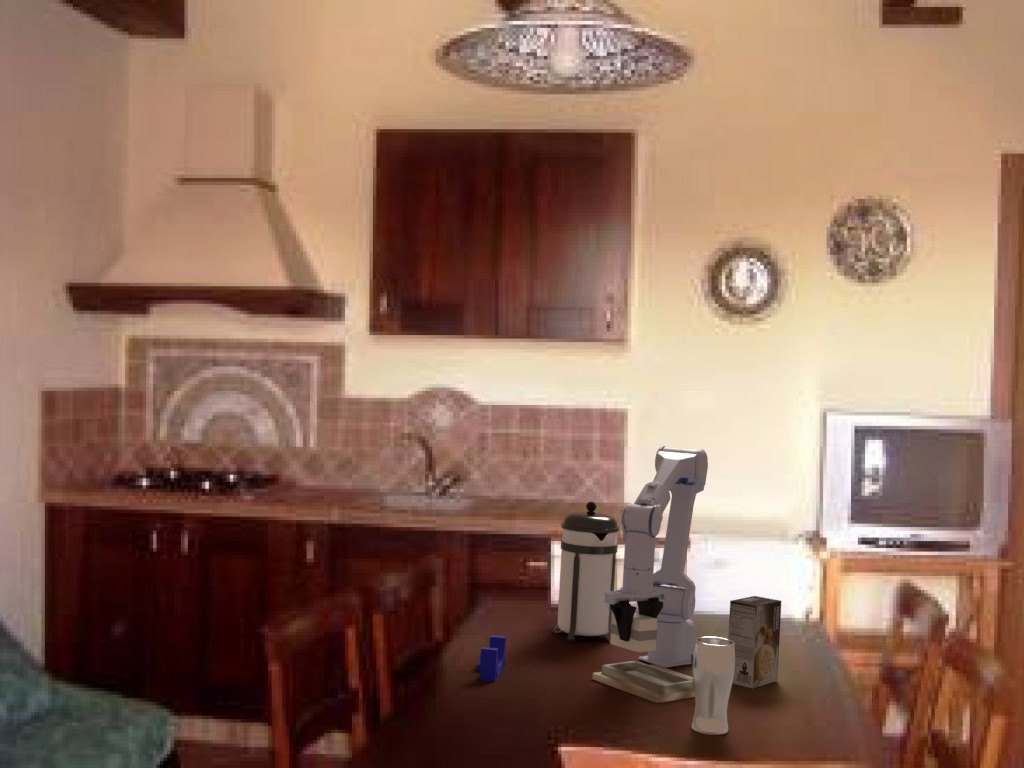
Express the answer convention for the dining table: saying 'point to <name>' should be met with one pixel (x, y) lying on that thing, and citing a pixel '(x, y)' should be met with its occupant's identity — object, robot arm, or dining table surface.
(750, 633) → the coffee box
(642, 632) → the cream grey striped block
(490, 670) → the cable clip
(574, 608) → the coffee press
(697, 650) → the beer glass
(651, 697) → the board
